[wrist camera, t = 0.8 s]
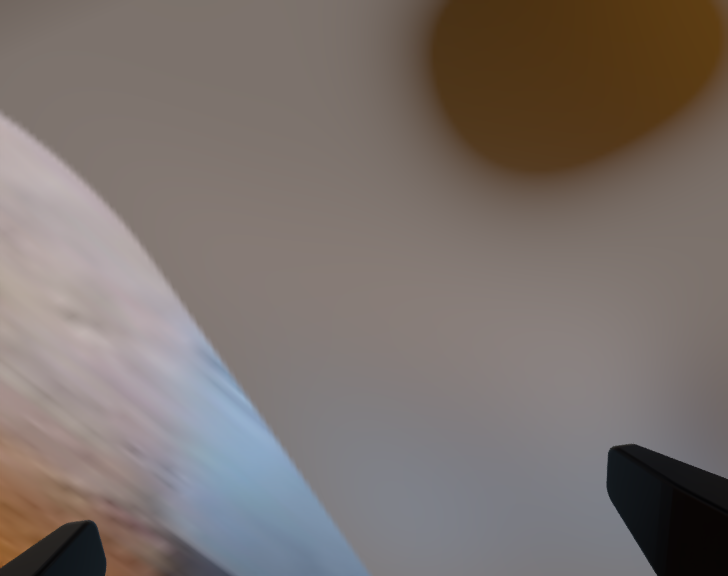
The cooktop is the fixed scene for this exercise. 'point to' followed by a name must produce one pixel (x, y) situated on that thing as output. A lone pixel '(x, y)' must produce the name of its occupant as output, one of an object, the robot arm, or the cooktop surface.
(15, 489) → the cooktop surface
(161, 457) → the cooktop surface
